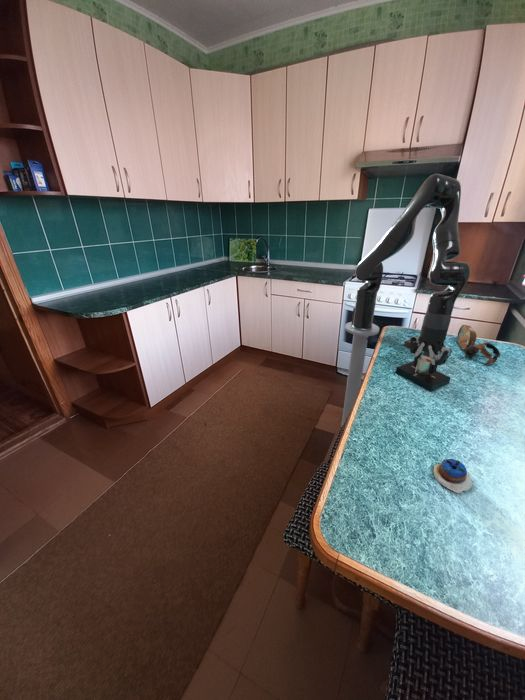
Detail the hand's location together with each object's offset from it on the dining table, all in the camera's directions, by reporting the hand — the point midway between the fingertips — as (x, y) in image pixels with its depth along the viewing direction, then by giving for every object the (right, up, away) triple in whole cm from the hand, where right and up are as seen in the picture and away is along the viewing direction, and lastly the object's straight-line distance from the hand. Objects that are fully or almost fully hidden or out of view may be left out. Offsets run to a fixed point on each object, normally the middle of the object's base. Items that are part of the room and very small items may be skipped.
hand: (423, 369), depth 102 cm
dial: (0, -1, 0) cm, 1 cm away
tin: (+31, +8, +24) cm, 40 cm away
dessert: (-14, -23, -36) cm, 45 cm away
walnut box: (+13, +7, +23) cm, 27 cm away
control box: (0, -3, +2) cm, 4 cm away
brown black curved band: (+28, +3, +13) cm, 31 cm away
